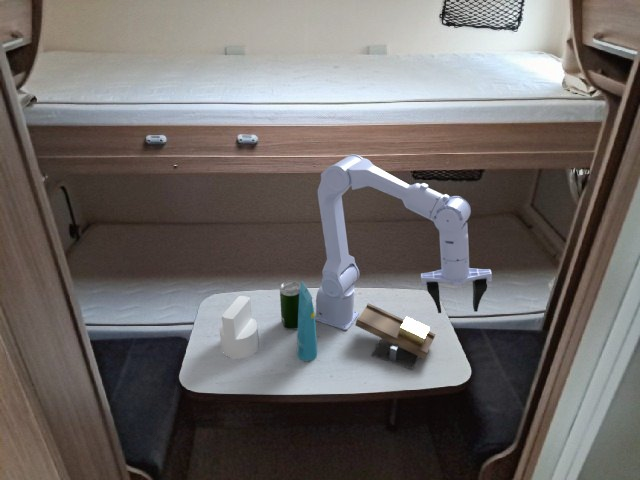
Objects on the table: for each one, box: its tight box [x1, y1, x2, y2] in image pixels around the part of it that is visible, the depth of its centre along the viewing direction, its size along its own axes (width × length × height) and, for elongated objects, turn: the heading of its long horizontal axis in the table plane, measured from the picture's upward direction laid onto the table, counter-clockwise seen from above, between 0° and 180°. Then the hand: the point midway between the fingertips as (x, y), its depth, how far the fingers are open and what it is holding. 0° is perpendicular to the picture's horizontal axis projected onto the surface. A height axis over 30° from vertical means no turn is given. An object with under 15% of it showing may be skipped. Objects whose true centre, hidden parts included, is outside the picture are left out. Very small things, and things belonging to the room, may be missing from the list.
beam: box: [354, 303, 436, 360], centre depth 114 cm, size 18×8×3 cm, turn 62°
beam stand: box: [371, 338, 419, 371], centre depth 115 cm, size 10×13×4 cm
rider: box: [398, 316, 431, 347], centre depth 112 cm, size 6×4×3 cm
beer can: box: [279, 280, 301, 331], centre depth 120 cm, size 5×5×12 cm
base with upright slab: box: [218, 295, 260, 360], centre depth 113 cm, size 9×9×12 cm
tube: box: [296, 279, 318, 362], centre depth 109 cm, size 7×5×19 cm, turn 26°
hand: (457, 310), depth 104 cm, fingers open, 7 cm apart
